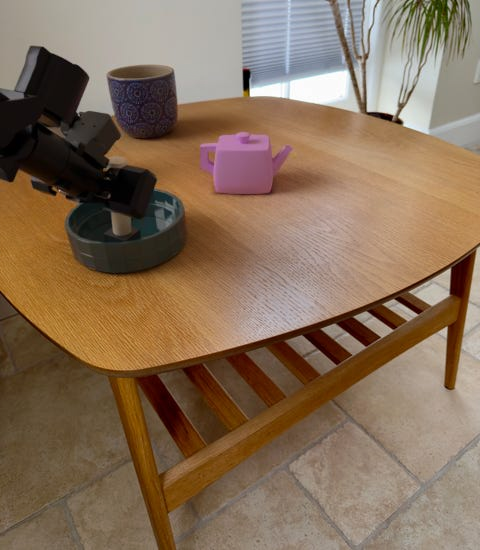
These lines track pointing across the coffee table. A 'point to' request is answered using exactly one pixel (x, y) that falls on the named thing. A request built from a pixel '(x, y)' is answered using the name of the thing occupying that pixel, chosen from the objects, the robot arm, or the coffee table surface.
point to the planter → (144, 99)
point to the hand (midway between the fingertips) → (127, 202)
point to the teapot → (242, 163)
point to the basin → (130, 254)
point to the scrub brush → (120, 216)
